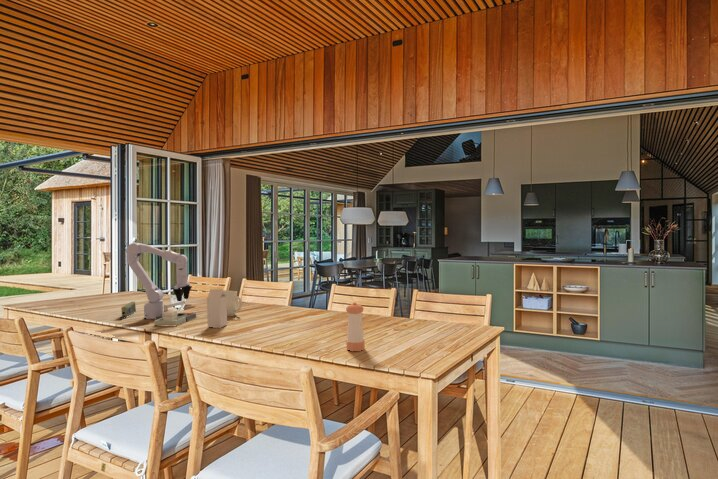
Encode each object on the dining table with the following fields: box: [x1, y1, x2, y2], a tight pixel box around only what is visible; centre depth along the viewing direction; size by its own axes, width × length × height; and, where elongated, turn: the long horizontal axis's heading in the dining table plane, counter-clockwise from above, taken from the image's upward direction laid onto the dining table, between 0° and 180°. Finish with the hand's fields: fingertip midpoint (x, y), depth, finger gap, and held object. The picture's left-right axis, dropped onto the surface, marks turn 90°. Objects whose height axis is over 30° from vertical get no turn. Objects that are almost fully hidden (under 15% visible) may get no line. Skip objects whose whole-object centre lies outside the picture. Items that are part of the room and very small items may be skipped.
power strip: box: [155, 311, 197, 322], centre depth 255 cm, size 18×10×3 cm, turn 83°
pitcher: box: [223, 289, 243, 317], centre depth 264 cm, size 11×18×14 cm, turn 62°
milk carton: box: [206, 288, 228, 329], centre depth 235 cm, size 7×7×19 cm
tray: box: [153, 317, 187, 326], centre depth 243 cm, size 12×10×3 cm
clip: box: [163, 300, 186, 312], centre depth 262 cm, size 16×2×5 cm, turn 158°
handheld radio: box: [119, 301, 137, 319], centre depth 268 cm, size 7×3×25 cm
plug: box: [162, 310, 179, 321], centre depth 243 cm, size 6×6×6 cm
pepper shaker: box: [345, 302, 366, 352], centre depth 187 cm, size 7×7×19 cm
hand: (182, 299), depth 263 cm, fingers open, 7 cm apart
